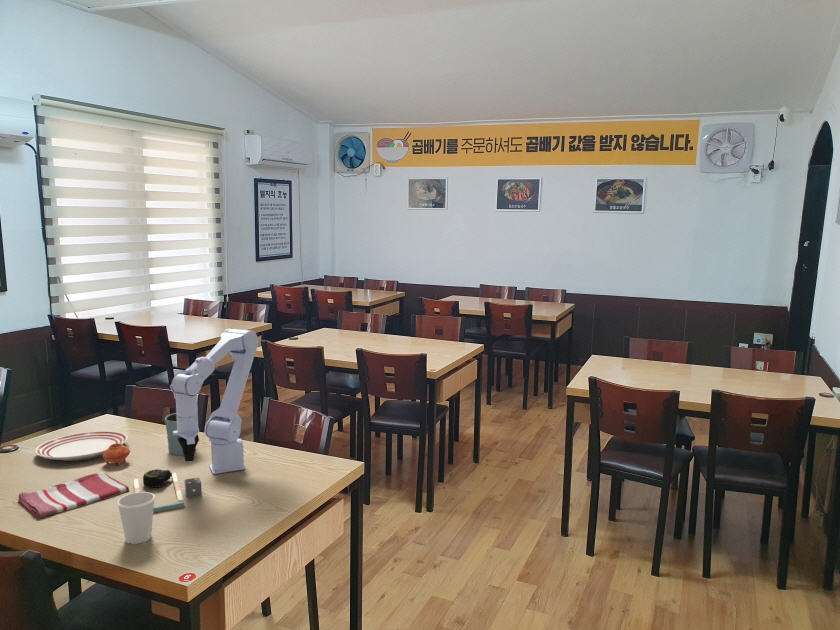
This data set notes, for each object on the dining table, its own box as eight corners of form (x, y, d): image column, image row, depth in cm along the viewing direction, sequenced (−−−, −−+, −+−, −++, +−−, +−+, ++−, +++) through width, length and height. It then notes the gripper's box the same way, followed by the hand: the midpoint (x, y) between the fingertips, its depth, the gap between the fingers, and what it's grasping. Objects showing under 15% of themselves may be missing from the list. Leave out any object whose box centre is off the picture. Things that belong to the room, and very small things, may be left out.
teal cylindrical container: (187, 443, 218) (185, 410, 217) (204, 449, 212) (203, 415, 211) (160, 451, 210) (158, 417, 208) (178, 458, 204) (176, 422, 203)
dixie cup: (149, 526, 158) (147, 488, 156) (162, 538, 152) (160, 499, 150) (114, 537, 152) (112, 498, 151) (126, 550, 146) (123, 509, 145)
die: (199, 490, 180) (199, 477, 179) (201, 495, 176) (201, 482, 176) (185, 493, 178) (184, 479, 177) (186, 498, 174) (185, 484, 174)
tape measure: (162, 490, 180) (161, 477, 179) (138, 489, 180) (138, 477, 180) (172, 480, 187) (172, 468, 186) (149, 480, 187) (149, 468, 186)
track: (175, 476, 189) (175, 472, 189) (184, 507, 169) (184, 502, 169) (133, 483, 184) (133, 479, 184) (137, 515, 164) (136, 511, 163)
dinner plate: (22, 452, 209) (22, 443, 208) (107, 433, 230) (106, 424, 229) (54, 474, 191) (53, 463, 191) (142, 450, 212) (142, 440, 211)
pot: (136, 461, 200) (130, 443, 198) (112, 473, 195) (105, 455, 193) (127, 454, 206) (121, 436, 204) (102, 466, 201) (96, 447, 199)
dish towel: (16, 502, 172) (15, 493, 172) (104, 477, 190) (104, 469, 189) (39, 521, 161) (38, 511, 161) (130, 493, 179) (129, 484, 178)
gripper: (170, 410, 185) (172, 454, 187) (174, 424, 172) (176, 471, 174) (195, 407, 188) (197, 451, 190) (201, 420, 175) (203, 467, 177)
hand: (189, 460), depth 182 cm, fingers closed
